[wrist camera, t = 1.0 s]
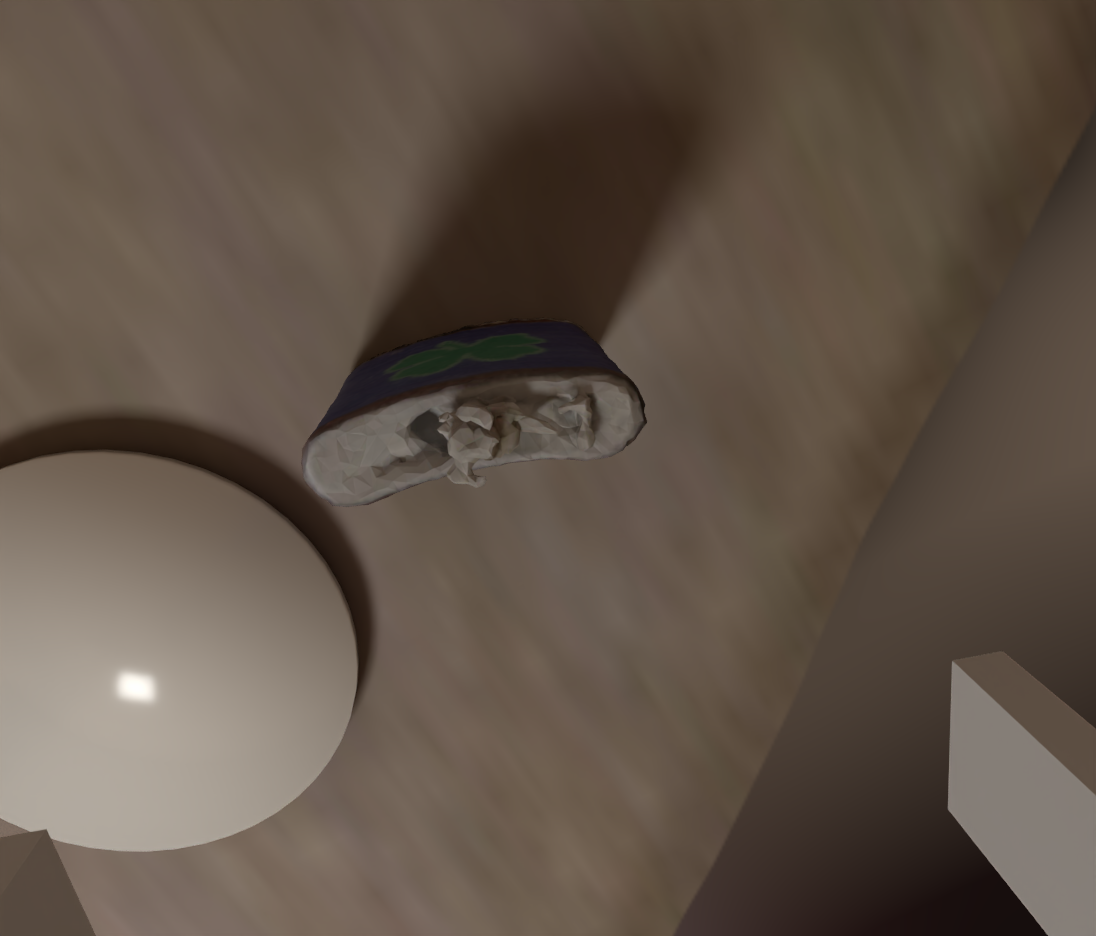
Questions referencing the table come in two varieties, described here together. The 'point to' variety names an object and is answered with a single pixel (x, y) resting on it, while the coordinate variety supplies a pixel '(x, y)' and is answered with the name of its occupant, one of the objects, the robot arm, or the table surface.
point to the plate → (160, 653)
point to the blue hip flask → (471, 410)
